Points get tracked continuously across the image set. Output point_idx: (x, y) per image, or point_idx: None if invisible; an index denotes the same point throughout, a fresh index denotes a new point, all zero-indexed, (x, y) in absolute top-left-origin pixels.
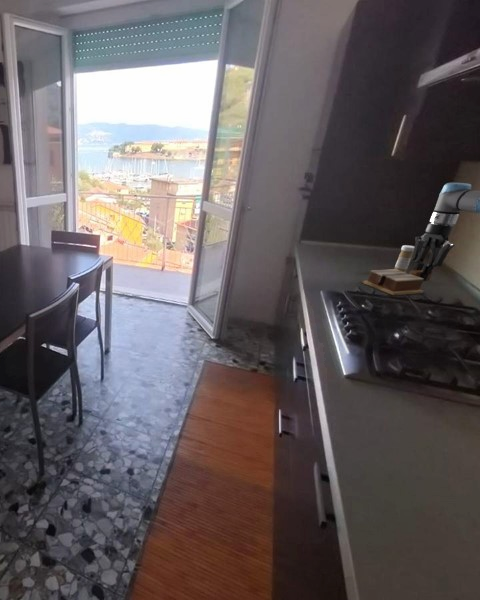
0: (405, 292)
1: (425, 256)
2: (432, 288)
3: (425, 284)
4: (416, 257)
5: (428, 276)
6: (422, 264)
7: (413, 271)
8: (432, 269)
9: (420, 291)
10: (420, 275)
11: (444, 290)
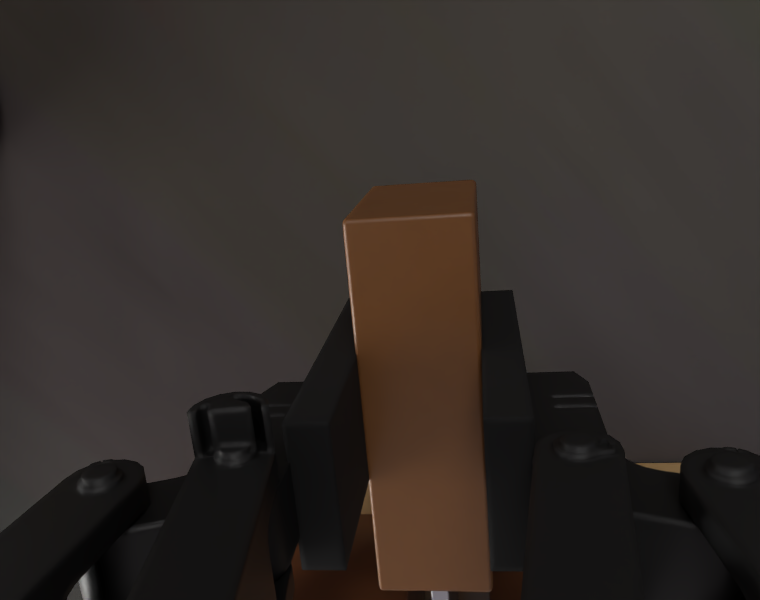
0: None
1: (251, 576)
2: (556, 139)
3: (380, 78)
4: (112, 575)
5: (478, 248)
6: (335, 455)
7: (430, 588)
8: (604, 430)
9: None
10: None
11: (666, 22)
